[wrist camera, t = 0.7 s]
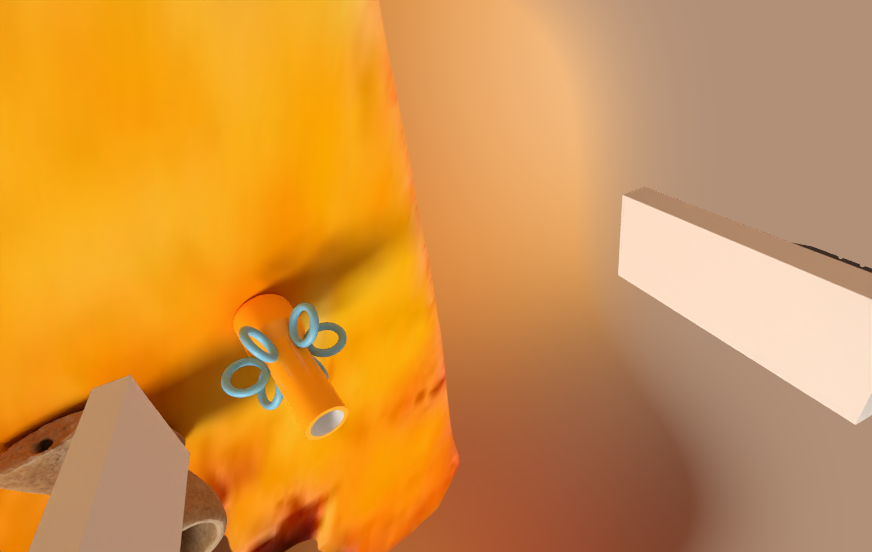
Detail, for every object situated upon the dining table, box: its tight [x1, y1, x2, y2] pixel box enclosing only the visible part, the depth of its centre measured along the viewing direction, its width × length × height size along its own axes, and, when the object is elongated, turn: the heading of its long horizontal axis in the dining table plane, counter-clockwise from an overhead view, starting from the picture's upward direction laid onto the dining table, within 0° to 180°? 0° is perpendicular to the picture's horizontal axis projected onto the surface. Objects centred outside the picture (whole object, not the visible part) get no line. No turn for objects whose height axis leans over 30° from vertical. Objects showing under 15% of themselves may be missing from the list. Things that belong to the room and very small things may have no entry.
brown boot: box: [0, 410, 227, 552], centre depth 40 cm, size 15×12×15 cm
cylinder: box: [221, 294, 348, 440], centre depth 43 cm, size 12×10×15 cm
